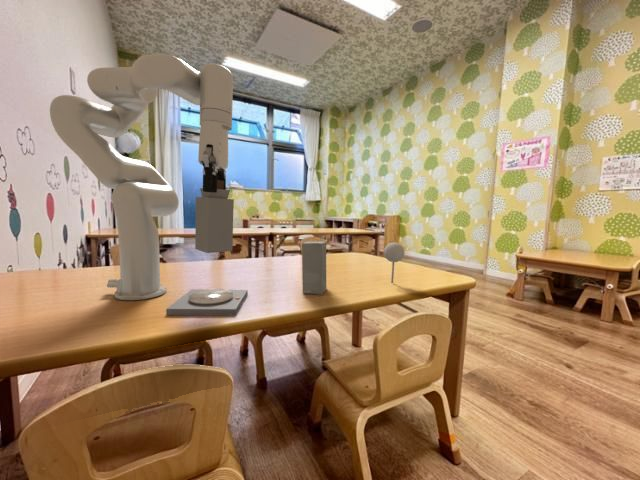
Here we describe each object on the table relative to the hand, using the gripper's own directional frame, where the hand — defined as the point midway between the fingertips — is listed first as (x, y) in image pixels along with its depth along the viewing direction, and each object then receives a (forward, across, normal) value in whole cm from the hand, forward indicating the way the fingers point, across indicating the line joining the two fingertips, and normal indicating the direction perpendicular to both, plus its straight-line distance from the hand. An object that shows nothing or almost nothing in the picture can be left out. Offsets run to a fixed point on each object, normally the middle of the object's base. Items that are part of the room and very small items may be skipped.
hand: (214, 192), depth 72 cm
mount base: (+29, 0, 0) cm, 29 cm away
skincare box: (+29, -12, +28) cm, 42 cm away
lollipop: (+28, -22, +57) cm, 67 cm away
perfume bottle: (+15, 0, 0) cm, 15 cm away
